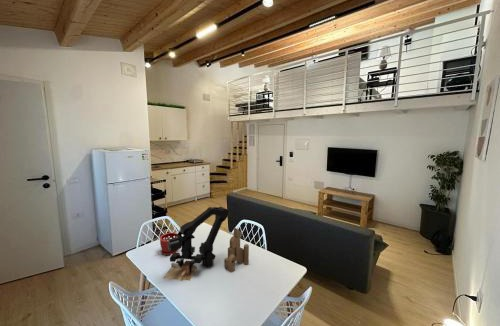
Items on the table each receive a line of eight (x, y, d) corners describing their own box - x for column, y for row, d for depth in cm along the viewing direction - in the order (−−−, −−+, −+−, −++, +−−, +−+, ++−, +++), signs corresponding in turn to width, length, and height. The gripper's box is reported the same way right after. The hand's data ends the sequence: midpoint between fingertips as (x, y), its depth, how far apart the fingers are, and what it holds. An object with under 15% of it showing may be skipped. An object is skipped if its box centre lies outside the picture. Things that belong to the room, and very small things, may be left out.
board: (197, 268, 139) (197, 263, 139) (189, 282, 126) (189, 276, 125) (173, 266, 141) (173, 261, 140) (162, 280, 127) (162, 274, 127)
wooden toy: (230, 273, 135) (230, 233, 132) (224, 268, 140) (224, 230, 137) (249, 263, 145) (250, 227, 142) (243, 259, 150) (243, 224, 147)
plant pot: (156, 254, 156) (155, 237, 154) (170, 246, 167) (170, 230, 166) (169, 259, 150) (169, 242, 148) (183, 250, 161) (183, 234, 160)
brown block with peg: (192, 269, 136) (192, 260, 135) (185, 280, 125) (185, 271, 125) (186, 268, 136) (185, 260, 136) (178, 280, 126) (178, 271, 125)
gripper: (206, 241, 138) (206, 264, 140) (177, 239, 140) (177, 262, 142) (200, 250, 127) (200, 275, 129) (169, 248, 129) (169, 273, 130)
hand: (187, 271), depth 133 cm, fingers closed on brown block with peg, 4 cm apart
